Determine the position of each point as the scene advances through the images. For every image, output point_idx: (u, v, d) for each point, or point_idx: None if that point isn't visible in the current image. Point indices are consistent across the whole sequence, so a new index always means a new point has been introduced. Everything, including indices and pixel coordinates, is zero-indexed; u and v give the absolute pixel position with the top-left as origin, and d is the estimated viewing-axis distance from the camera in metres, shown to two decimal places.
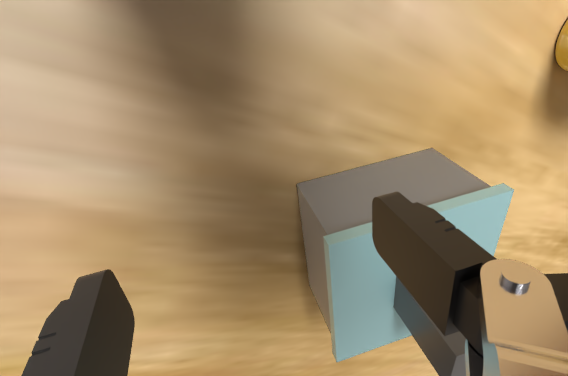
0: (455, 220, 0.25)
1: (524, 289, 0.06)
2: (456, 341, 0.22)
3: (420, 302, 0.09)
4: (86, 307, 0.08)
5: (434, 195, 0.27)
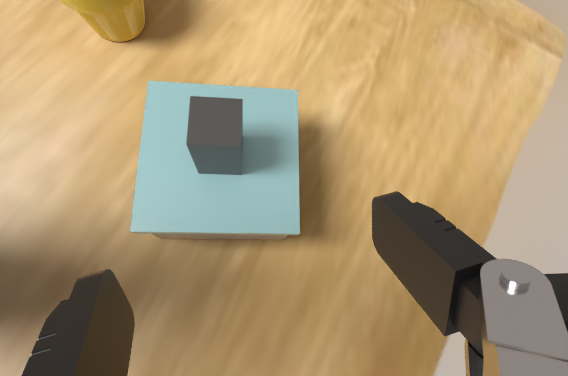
0: (157, 125, 0.32)
1: (524, 289, 0.06)
2: None
3: (420, 303, 0.09)
4: (86, 307, 0.08)
5: None
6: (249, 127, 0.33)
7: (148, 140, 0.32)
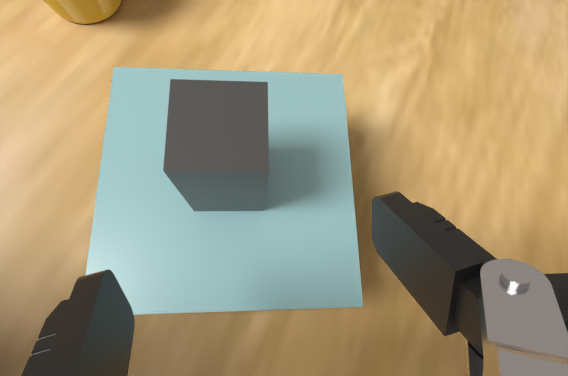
0: (127, 136, 0.20)
1: (524, 289, 0.06)
2: None
3: (420, 303, 0.09)
4: (86, 307, 0.08)
5: None
6: (272, 133, 0.21)
7: (112, 159, 0.20)
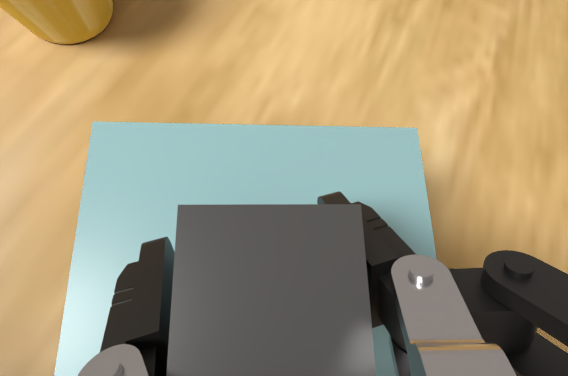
0: (110, 229, 0.14)
1: (426, 282, 0.07)
2: None
3: None
4: (156, 265, 0.09)
5: None
6: None
7: (87, 267, 0.13)
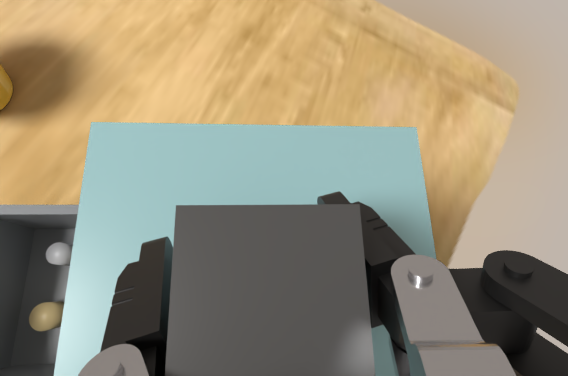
0: (109, 229, 0.14)
1: (425, 282, 0.07)
2: None
3: None
4: (156, 265, 0.09)
5: None
6: None
7: (86, 268, 0.13)
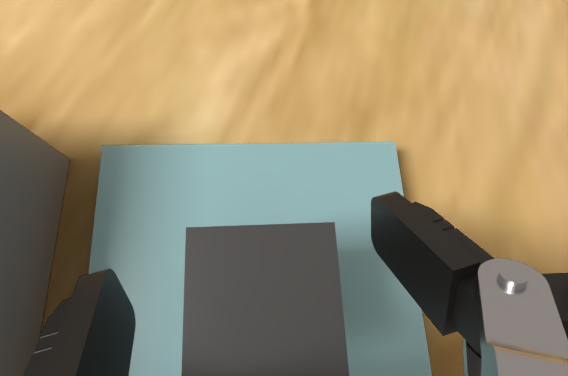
0: (122, 242, 0.15)
1: (521, 289, 0.06)
2: None
3: (418, 302, 0.09)
4: (88, 306, 0.08)
5: None
6: None
7: None
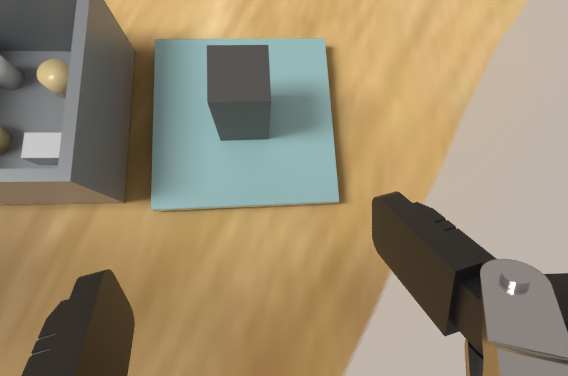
0: (170, 89, 0.28)
1: (524, 289, 0.06)
2: None
3: (420, 303, 0.09)
4: (86, 307, 0.08)
5: None
6: (273, 84, 0.29)
7: (161, 106, 0.28)
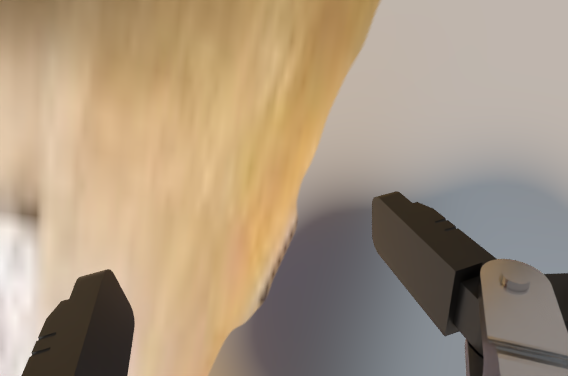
0: None
1: (524, 289, 0.06)
2: None
3: (420, 303, 0.09)
4: (86, 307, 0.08)
5: None
6: None
7: None
